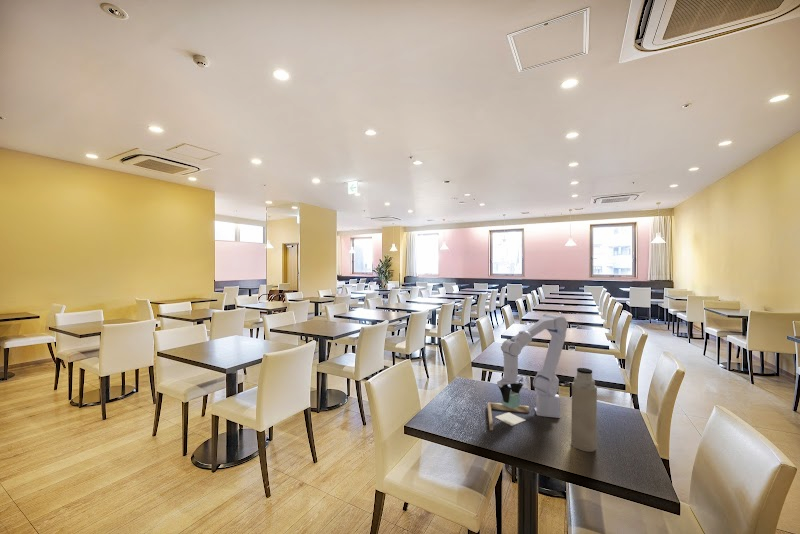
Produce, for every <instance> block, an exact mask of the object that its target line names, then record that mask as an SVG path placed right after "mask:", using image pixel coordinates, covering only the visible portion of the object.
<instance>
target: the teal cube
mask: <svg viewBox="0 0 800 534" xmlns="http://www.w3.org/2000/svg"><path fill="white" fill-rule="evenodd" d="M501 397H502V396H501ZM520 400H521V394H520V393H519V394H518V393H515V392H513V391H510V395H509V402H508V403H506V402H504V401H503V397H502V404H503V405H505V406H507V407H509V408H515V407H519V406H520V405H521V401H520Z"/></svg>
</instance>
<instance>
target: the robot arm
mask: <svg viewBox="0 0 800 534" xmlns="http://www.w3.org/2000/svg"><path fill="white" fill-rule="evenodd" d="M568 326H569V322H568V321H567V319H566V318H565V316H562V315H556V314H555V315H554V314H550V313H544V314H543V315H541V316H539V320H538V321H536V322H535V323H534V324H533V325H532V326H531V327H529V328H528V329H527V330H520V331H518V333H517V334H516V335H514V336H513V337H511V338H510V339H506V340H504V341H503V342H502V345H501V346H500V350H501V351H502V356H503V378H501V379H499V380H498V381H496V383H497V384H496V386H497V387H498V389H499V391H500V393H501V397H503V401H504V402H506V403H508V402H509V395H510V391H513V392H515V393H518V394H520V392H521V390H522V388H523V386H524V384H523V382H524V376H521V375H519V373H518V372H519V370H518V368H519V355H521V353H522V350H523V349H524V348H525V347H526V346H527V345H528V344H530V343H532V341H533V337H535V336H536V335H538V334H540V333H541V332H543V331H544V330H546V331H547V332H548V333H549V334H550V336H551V337H550V342H549V344H548V348H547V352H546V355H545V359H544V362H543V365H542V369H541V370H539V371H537V372H536V375H535V377H534V378H533V380H532V385H533V387H534V388H535V392H536V407H534V411H535V413H536V416H537V417H546V418H547V417H548V418H558V419H560V418H561V397H560V395H559V394H558V392H559V382H560V379H559V378H558V377H557V374H556V372H557V369H558V365H559V361H560V359H561V355H562V351H563V347H564V344H565V340H566V335H567V333H566V332H567V330H568ZM509 385H510V386H509Z"/></svg>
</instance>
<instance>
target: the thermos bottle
mask: <svg viewBox="0 0 800 534" xmlns="http://www.w3.org/2000/svg"><path fill="white" fill-rule="evenodd" d="M595 384H596V380H595V379H594V378H593V370H592V369H590V368H585V367H578V368H576V375H575V376H574V378H573V381H572V382H571V433H570V435H571V441H570V442H571V445H572V446H573V447H574V448H575V449H577V450H579V451H583V452H587V453H588V452H592V453H593V452H595V451H596V450H597V420H598V419H597V417H598V416H597V413H598V411H597V410H598V406H597V404H598V399H597V398H598V387H597V385H595Z"/></svg>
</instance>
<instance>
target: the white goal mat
mask: <svg viewBox="0 0 800 534" xmlns="http://www.w3.org/2000/svg"><path fill="white" fill-rule="evenodd" d="M494 418H495V419H496V420H499V421H501V422H503V423H505V424H507V425H509V426H511V427H513V426H516V425H518V424H522V423H523V422H526V419H525V418H522V417H520V416H518V415H515V414H513V413H512V412H510V411H509V412H508V411H507V412H505V413H502V414H499V415H495V416H494Z"/></svg>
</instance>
